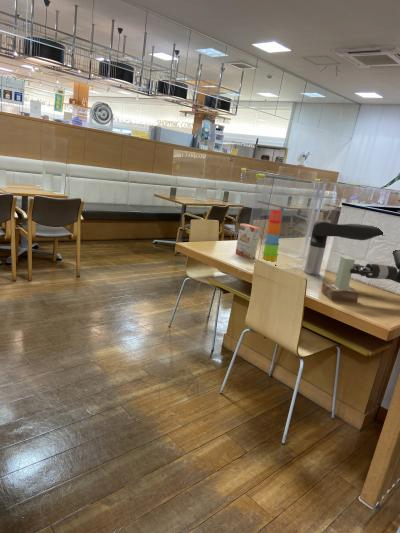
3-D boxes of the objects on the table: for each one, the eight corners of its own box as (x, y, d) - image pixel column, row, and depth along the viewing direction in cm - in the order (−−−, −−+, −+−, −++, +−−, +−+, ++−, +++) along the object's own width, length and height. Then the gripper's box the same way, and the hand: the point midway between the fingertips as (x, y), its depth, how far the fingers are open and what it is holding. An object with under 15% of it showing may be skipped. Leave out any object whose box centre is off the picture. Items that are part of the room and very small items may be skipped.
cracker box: (234, 253, 265) (239, 223, 260) (241, 252, 269) (246, 223, 263) (248, 258, 255) (254, 227, 249) (255, 258, 259) (260, 227, 253)
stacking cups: (273, 267, 241) (283, 212, 231) (258, 263, 245) (267, 209, 236) (279, 265, 249) (289, 211, 240) (264, 261, 254) (273, 209, 245)
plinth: (321, 291, 206) (323, 282, 204) (345, 293, 208) (348, 284, 206) (330, 300, 194) (333, 290, 193) (356, 302, 196) (359, 292, 195)
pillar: (334, 285, 202) (341, 256, 197) (343, 286, 202) (350, 257, 198) (338, 288, 197) (345, 258, 193) (347, 289, 198) (355, 259, 193)
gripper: (370, 260, 205) (342, 257, 203) (385, 268, 191) (355, 265, 189) (367, 274, 207) (338, 271, 205) (381, 282, 193) (351, 279, 191)
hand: (346, 268), depth 197 cm, fingers open, 8 cm apart
